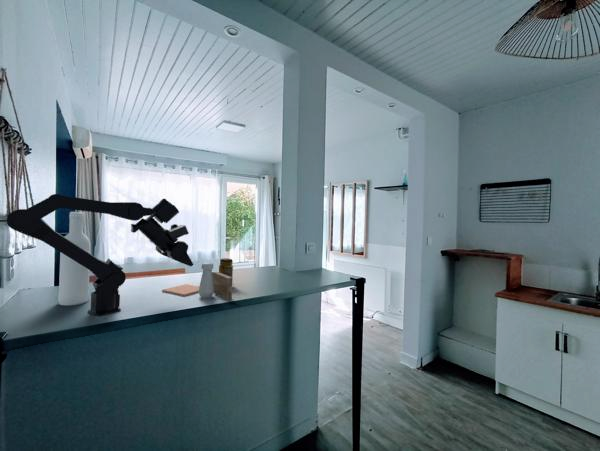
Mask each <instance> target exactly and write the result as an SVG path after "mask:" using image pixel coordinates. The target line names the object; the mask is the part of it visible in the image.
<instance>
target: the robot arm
mask: <svg viewBox="0 0 600 451" xmlns="http://www.w3.org/2000/svg"><path fill="white" fill-rule="evenodd" d="M59 209H63V210H64V209H65V210H73V211H79V212H80V211H81V212H87V213H88V212H90V213H97V214H104V215H105V214H107V215H111V216H113V217H117V218H119V219H124V220H129V221H133V222H134V221H135V222H136V223H131V224H130V228H131V229H130V232H131V233H133V234H134V233H136V232H138V231H139V232H141V233H142V235H143V236H144V237H146V238H147V239H148V240H149V242H150V243H151V244H153V245H155V251H156V252H157V253H158V254H160V255H162V256H164V257H167V258H169V259H171V260H174V261H176V262H179V263H180V264H184V265H186V266H188V267H193V266H194V263H193V261H192V260H191V258H190V256H189V254H188V250H189V245H188V244H187V242H185V241H183V240H182V241H181V240H179V239H178V238H181V237H184V236H186V235H189V230H188V228H187V226H186V224H180V225H178V224H177V223H174V224H171V225H170V229H166V228H164V227H163V226H162V225H161V224H163V223H164V224H168V223H169V221H171V220H172V219H173V218H174V217H175V216H177V215H178V214H179V213H180V211H179V209H178V208H177V207H176V206H175V204H173V203H171V202H170V201H168V200H167V199H166V198H162V199H160V200H159V202H158V203H156V205H154V206H153V207H152V208H151V207H144V206H143V205H142V204H141V203H138V202H133V201H132V202H129V201H128V202H123V201H122V202H120V201H119V202H118V201H117V202H116V201H115V202H110V201H103V200H96V199H90V198H84V197H83V198H82V197H76V196H67V195H63V194H61V193H54V194H51V195H50V196H49V197H47V198H45V199H43V200H41V201H40V202H37V203H36V204H34V205H32V206H29V207H28V208H22V209H21V208H20V209H16V210H13V211H11V212H9V214H8V215H7V216H6V224H7V226H8V227H9V228H10V229H11V230H13V231H16V232H18V233H20V234H23V235H25V236H28V237H31V238H33V239H36V240H39V241H41V242H43V243H45V244H46V245H47V246H49V247H51V248H53V249H54V250H56V251H57V252H59V253H60V252H61V253H63V254H64V255H66V256H67V257H69V258H71V259H72V260H74V261H76V262H77V263H79V264H80V265H82V266H84V267H85V268H87V269H89V272H91V273H92V274H93V275H94V276H95V277H97V279H96V280H95V281H94V282H92V286H93V289H94V290H95V291H91V292H90V309H88V310H87V313H90V314H92V315H94V316H97V317H99V316H104V315H107V314H111V313H112V314H113V313H115V312H121V311H122V308H120V304H121V302H120V301H121V295H120V294H119V288H120V287H121V286H122V285H124V283H125V281H126V279H127V278H126V277H127V276H126V273H125V272H124V271H123V269H124V268H123V267H122V266H121V264H116V263H115V262H113V261H112V260H111V259H110V258H107V260H106V261H104V260H103V259H99V258H97V257H96V256H94V255H93V254H92V253H91V252H90V253H88V252H87V251H85V250H84V249H82V248H80V247H79V246H77V245H76V244H74V243H73V242H71V241H70V240H68V239H67V238H65V236H63V235H62V234H61V233H59V232H57V231H56V230H54V229H53V227H51V226H50V225H49V224H48V223H47V222H46V221H45V220H44V219H43V218H45V217H47V216H48V215H50V214H52V213H54V212H55V211H57V210H59ZM143 217H147V218H143Z"/></svg>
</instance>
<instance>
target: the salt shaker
mask: <svg viewBox="0 0 600 451" xmlns="http://www.w3.org/2000/svg"><path fill="white" fill-rule="evenodd" d="M200 266H201V267H200V268H201V269H202V274H201V277H200V282H199V290H198V293H197V294H198V295H199V296H200V298H201V299H211V298H212V297H213V295H214V294H215V293H214V284H213V276H212V272H213V271H212V270H213V269H214V264H213V263H212V262H202V264H201V265H200Z"/></svg>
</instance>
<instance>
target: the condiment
mask: <svg viewBox="0 0 600 451" xmlns="http://www.w3.org/2000/svg"><path fill="white" fill-rule="evenodd" d="M233 271H234V265H233V259H232V258H225V257H224V258H220V260H219V266H218V272H219V273H222V274H224V275H227V276H230V277H232V278H233V277H234V276H233V274H234V273H233ZM233 288H234V285H233V286H232V289H233Z"/></svg>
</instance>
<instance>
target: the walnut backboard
mask: <svg viewBox="0 0 600 451" xmlns="http://www.w3.org/2000/svg"><path fill="white" fill-rule="evenodd" d="M212 276H213V284H214V293H213V294H215V295H218V296H220V297H221V298H223V299H225V300H232V299H233V297H232V296H233V288H232V284H233V279H234V277H233V276H232V277H230V276H227V275H224V274H222V273H219V271H212Z"/></svg>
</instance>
